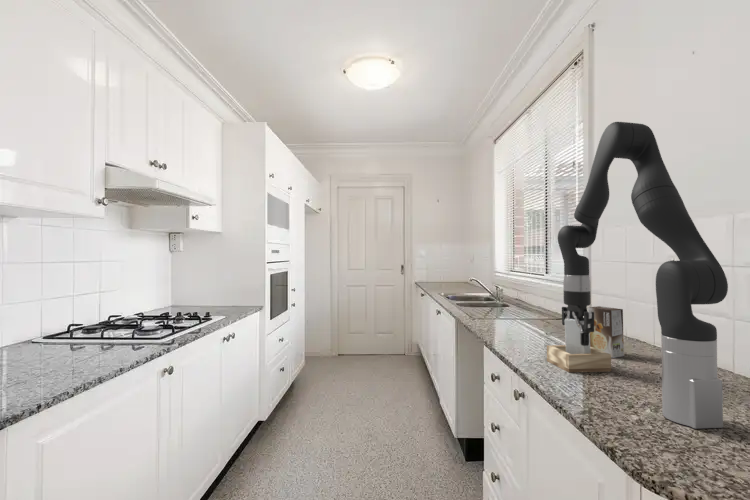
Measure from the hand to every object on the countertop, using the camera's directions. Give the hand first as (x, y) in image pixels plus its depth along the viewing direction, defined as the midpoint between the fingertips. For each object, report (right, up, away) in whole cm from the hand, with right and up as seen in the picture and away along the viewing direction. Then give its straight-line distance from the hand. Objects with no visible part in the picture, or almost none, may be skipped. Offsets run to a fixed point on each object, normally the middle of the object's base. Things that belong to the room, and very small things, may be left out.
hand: (577, 342), depth 125 cm
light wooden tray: (0, -7, 0) cm, 7 cm away
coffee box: (+17, -8, +14) cm, 23 cm away
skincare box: (0, -5, 0) cm, 5 cm away
